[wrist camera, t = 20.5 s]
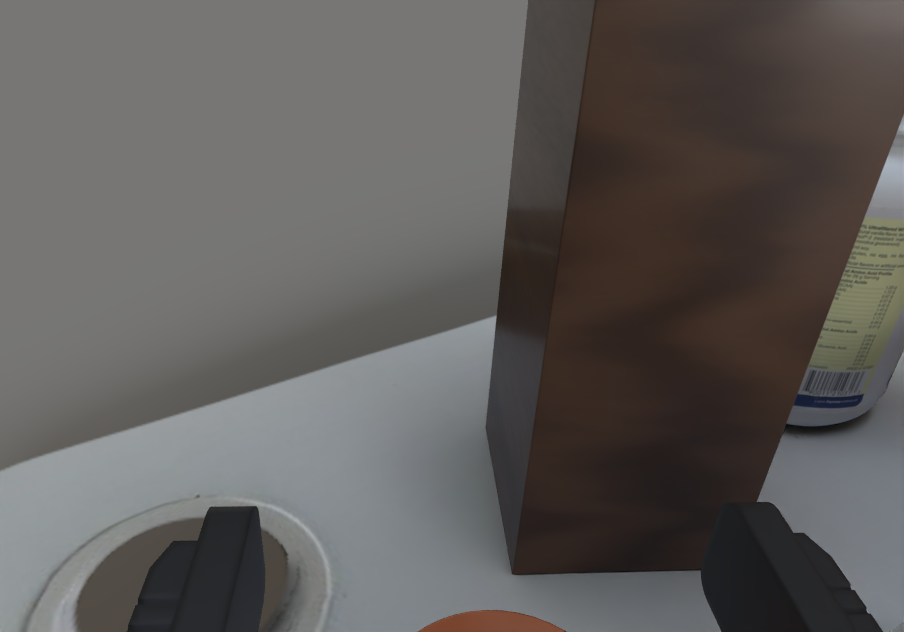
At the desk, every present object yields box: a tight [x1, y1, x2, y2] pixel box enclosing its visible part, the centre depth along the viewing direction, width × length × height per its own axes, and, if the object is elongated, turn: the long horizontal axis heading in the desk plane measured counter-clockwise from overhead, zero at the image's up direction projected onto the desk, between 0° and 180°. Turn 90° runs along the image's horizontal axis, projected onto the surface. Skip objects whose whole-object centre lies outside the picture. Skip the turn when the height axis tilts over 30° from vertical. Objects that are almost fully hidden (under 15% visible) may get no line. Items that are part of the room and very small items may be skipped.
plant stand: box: [486, 0, 904, 574], centre depth 25 cm, size 9×9×23 cm
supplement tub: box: [786, 115, 904, 426], centre depth 36 cm, size 12×12×17 cm
